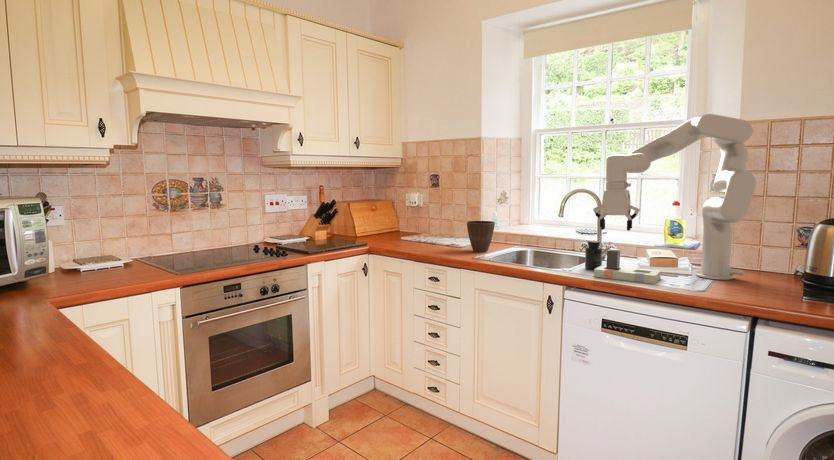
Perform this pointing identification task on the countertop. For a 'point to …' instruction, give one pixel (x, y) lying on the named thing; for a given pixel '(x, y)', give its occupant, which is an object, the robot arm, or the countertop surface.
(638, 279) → the socket board
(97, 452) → the countertop surface
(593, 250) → the supplement bottle
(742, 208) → the robot arm
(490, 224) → the plant pot
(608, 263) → the dark grey tall block
